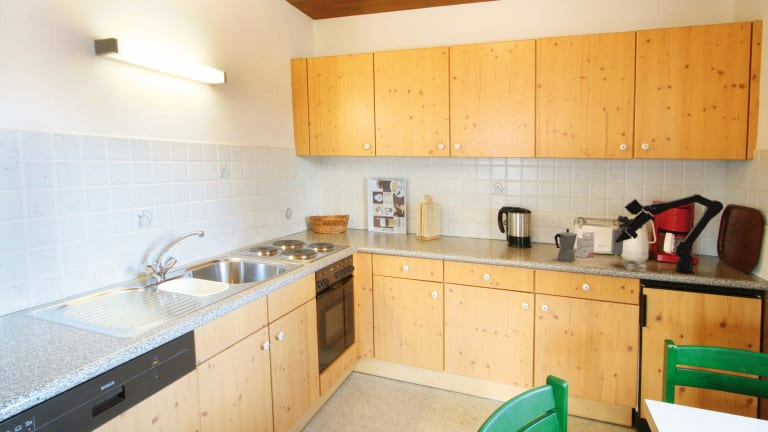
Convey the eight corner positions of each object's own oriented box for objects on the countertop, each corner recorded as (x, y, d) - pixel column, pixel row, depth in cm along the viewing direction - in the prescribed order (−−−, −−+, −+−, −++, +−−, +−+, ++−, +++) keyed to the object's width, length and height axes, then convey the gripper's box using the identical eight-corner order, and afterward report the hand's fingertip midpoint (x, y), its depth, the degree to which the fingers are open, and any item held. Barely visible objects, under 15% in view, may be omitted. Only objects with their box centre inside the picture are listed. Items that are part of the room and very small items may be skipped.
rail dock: (640, 267, 236) (641, 261, 236) (645, 271, 227) (646, 265, 227) (623, 266, 239) (624, 260, 238) (628, 270, 230) (628, 264, 229)
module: (620, 252, 241) (621, 227, 239) (622, 254, 237) (624, 228, 235) (611, 252, 242) (612, 226, 241) (613, 254, 238) (614, 228, 236)
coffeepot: (569, 257, 259) (571, 226, 257) (581, 261, 251) (583, 229, 248) (547, 259, 254) (549, 228, 252) (559, 263, 245) (561, 231, 243)
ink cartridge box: (587, 255, 266) (589, 230, 264) (593, 256, 261) (595, 232, 259) (575, 255, 263) (576, 231, 262) (581, 257, 259) (582, 232, 257)
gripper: (623, 208, 244) (600, 227, 249) (632, 212, 226) (606, 233, 231) (638, 223, 243) (615, 242, 248) (648, 228, 225) (622, 248, 230)
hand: (614, 241), depth 239 cm, fingers closed on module, 5 cm apart
